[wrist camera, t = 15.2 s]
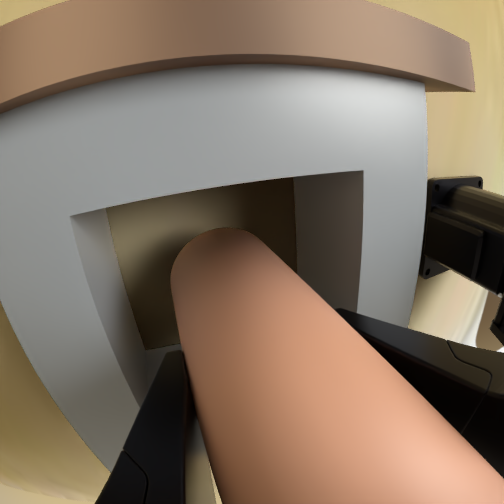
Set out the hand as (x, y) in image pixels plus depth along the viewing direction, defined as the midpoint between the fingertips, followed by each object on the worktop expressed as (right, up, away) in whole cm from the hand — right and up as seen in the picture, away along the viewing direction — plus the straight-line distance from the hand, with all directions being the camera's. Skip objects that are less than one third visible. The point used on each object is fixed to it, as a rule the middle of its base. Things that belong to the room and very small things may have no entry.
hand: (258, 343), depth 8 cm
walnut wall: (-3, +9, +2) cm, 10 cm away
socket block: (-2, +2, +5) cm, 6 cm away
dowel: (-1, +1, +4) cm, 4 cm away
